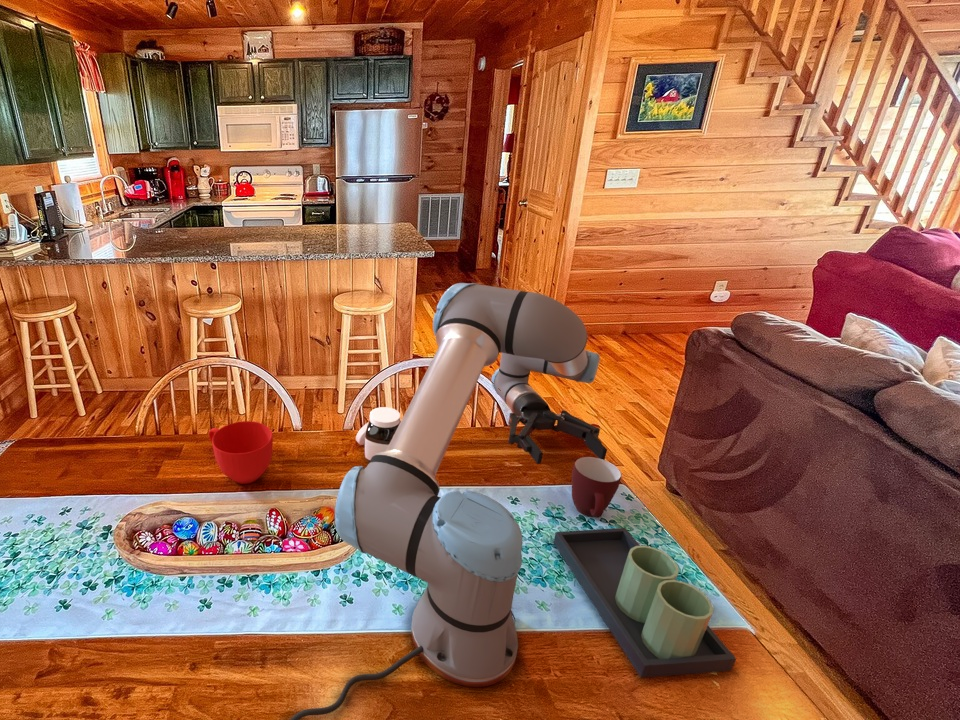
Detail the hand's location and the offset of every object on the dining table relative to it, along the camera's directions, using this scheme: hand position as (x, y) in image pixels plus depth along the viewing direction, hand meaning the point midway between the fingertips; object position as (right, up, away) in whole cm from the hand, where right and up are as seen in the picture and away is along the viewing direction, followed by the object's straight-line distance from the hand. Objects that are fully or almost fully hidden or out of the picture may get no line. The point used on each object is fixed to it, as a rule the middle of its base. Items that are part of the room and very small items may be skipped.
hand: (572, 456), depth 105 cm
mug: (+1, -11, -5) cm, 12 cm away
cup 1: (-2, -19, -25) cm, 31 cm away
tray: (-2, -18, -23) cm, 30 cm away
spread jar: (-39, -2, +15) cm, 41 cm away
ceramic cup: (-70, -5, +10) cm, 71 cm away
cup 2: (-2, -22, -31) cm, 38 cm away
